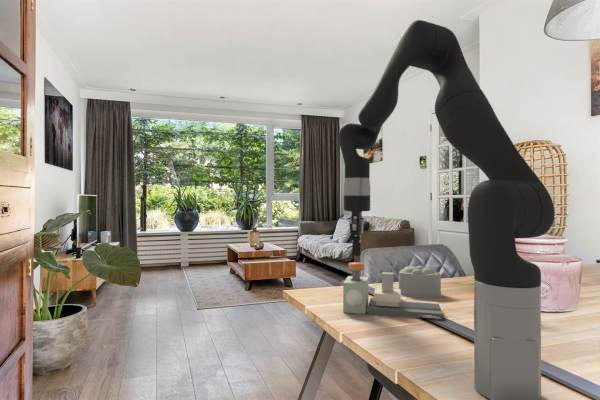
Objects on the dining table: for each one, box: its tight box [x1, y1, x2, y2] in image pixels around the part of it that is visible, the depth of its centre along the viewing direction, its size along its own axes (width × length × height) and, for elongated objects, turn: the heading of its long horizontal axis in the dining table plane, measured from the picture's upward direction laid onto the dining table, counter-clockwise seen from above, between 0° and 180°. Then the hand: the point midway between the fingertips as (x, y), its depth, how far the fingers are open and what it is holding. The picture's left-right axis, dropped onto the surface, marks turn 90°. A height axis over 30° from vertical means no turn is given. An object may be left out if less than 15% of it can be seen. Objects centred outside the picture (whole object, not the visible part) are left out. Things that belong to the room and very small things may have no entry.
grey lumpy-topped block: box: [398, 265, 442, 298], centre depth 125 cm, size 10×13×9 cm
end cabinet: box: [342, 275, 370, 315], centre depth 107 cm, size 10×6×8 cm, turn 165°
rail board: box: [366, 297, 444, 319], centre depth 104 cm, size 10×19×3 cm, turn 75°
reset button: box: [348, 261, 365, 281], centre depth 107 cm, size 4×4×7 cm
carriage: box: [373, 271, 402, 307], centre depth 105 cm, size 7×7×8 cm
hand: (356, 255), depth 107 cm, fingers closed
